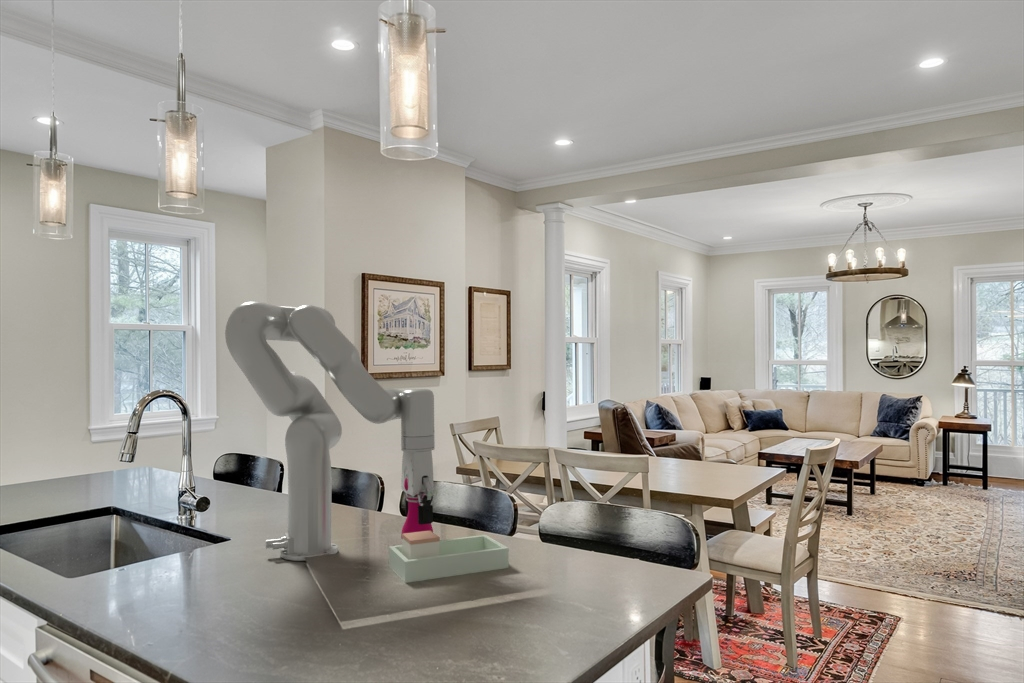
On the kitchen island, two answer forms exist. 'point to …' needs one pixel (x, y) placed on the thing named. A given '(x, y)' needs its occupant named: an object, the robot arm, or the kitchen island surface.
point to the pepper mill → (413, 515)
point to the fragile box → (420, 545)
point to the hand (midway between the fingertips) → (418, 519)
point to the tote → (451, 559)
